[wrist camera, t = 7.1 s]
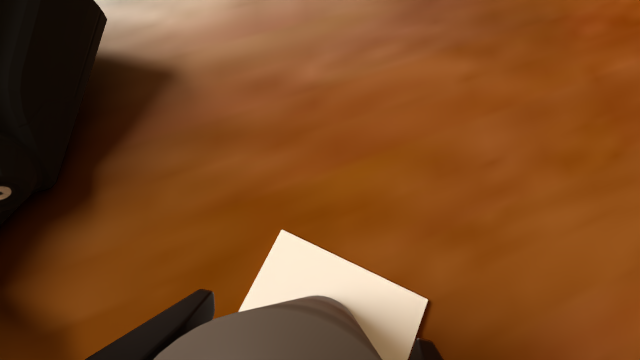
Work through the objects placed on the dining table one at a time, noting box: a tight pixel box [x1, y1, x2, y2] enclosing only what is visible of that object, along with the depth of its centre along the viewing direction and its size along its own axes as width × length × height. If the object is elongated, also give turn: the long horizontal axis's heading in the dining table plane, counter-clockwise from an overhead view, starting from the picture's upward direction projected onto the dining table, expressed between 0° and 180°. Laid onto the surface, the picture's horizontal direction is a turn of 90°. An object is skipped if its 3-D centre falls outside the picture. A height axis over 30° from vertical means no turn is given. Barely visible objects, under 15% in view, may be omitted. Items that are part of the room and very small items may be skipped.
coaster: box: [239, 230, 428, 360], centre depth 17 cm, size 9×9×1 cm
